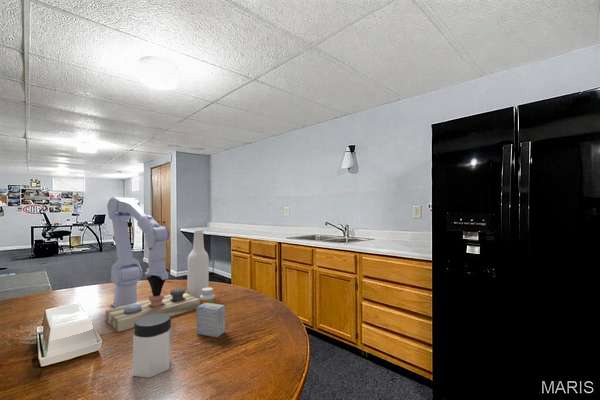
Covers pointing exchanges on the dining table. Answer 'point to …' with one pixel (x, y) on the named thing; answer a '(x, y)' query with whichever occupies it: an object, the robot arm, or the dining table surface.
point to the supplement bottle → (207, 296)
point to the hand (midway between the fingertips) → (156, 295)
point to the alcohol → (197, 266)
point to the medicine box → (211, 319)
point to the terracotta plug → (156, 300)
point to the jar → (151, 345)
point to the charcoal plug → (177, 294)
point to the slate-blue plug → (132, 308)
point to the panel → (150, 311)
